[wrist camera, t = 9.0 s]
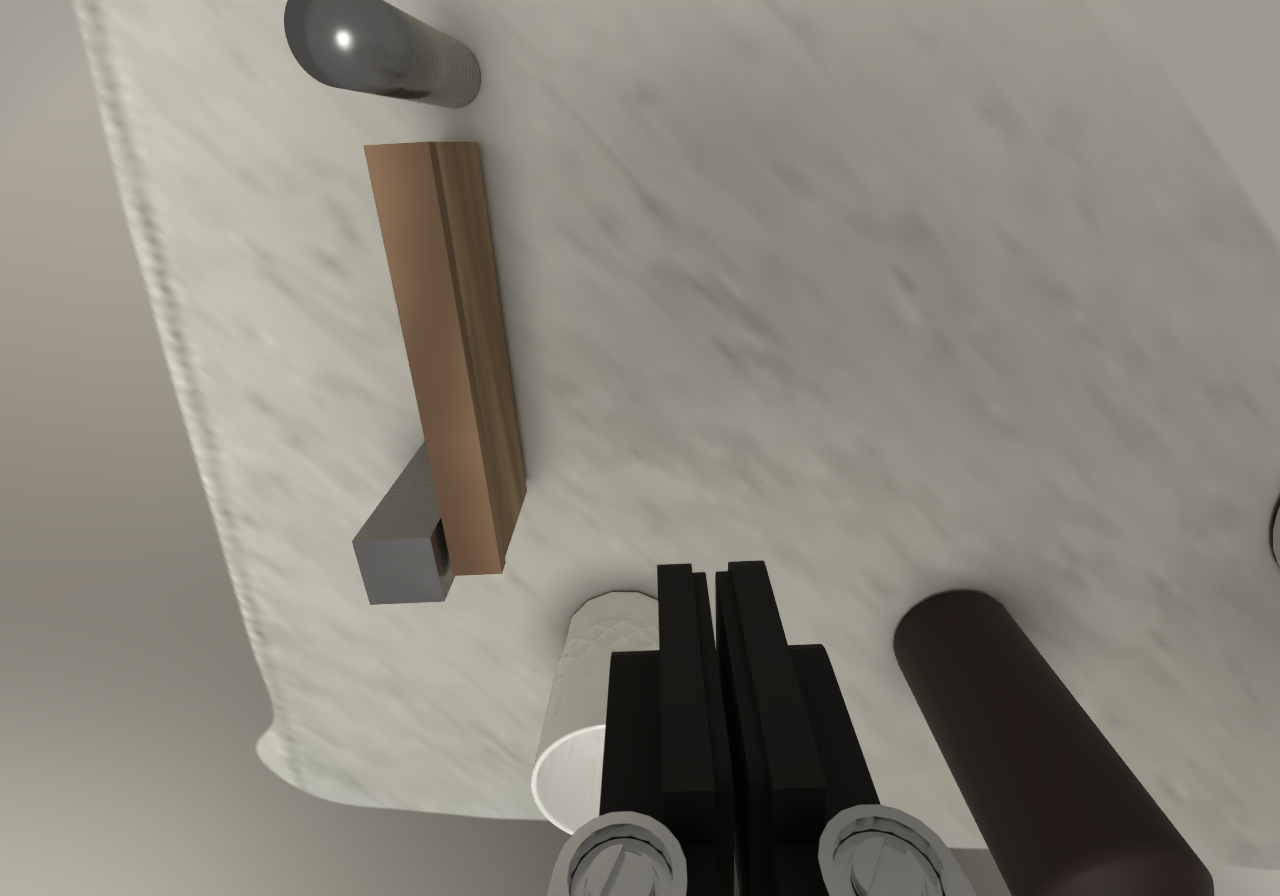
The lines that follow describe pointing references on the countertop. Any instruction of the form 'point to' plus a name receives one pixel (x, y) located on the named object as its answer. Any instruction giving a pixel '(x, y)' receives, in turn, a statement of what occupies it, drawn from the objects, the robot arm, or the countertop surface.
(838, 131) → the countertop surface
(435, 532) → the post
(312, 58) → the grey glass test tube
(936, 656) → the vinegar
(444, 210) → the brown wooden board
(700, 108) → the countertop surface
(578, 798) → the white cup
